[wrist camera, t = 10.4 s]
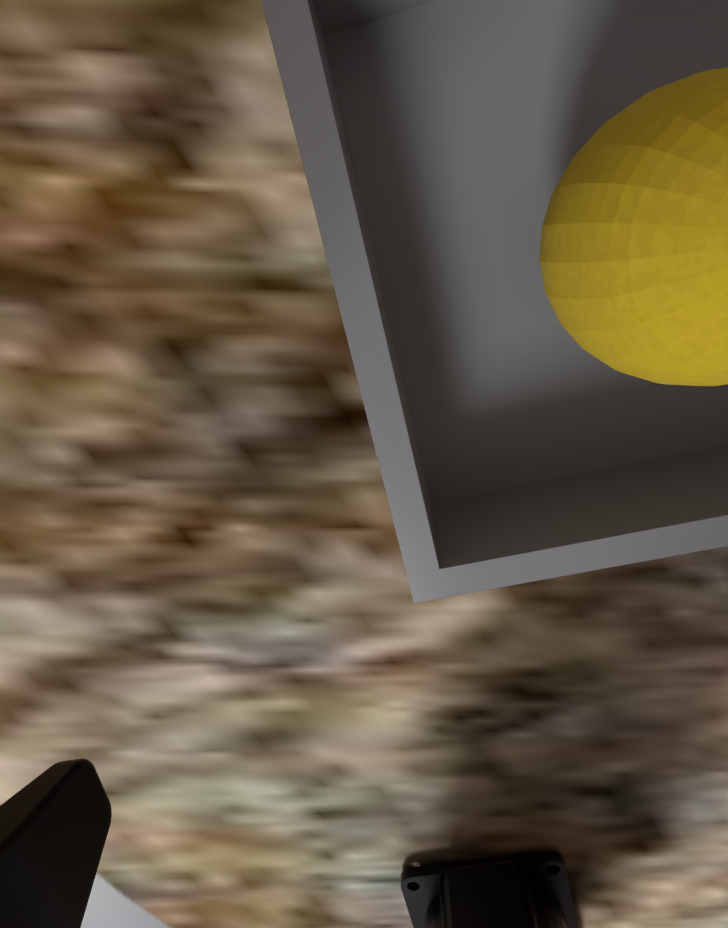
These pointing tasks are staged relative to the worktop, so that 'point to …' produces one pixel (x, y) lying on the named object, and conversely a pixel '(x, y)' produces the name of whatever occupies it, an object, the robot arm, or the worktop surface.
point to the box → (495, 278)
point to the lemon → (648, 237)
